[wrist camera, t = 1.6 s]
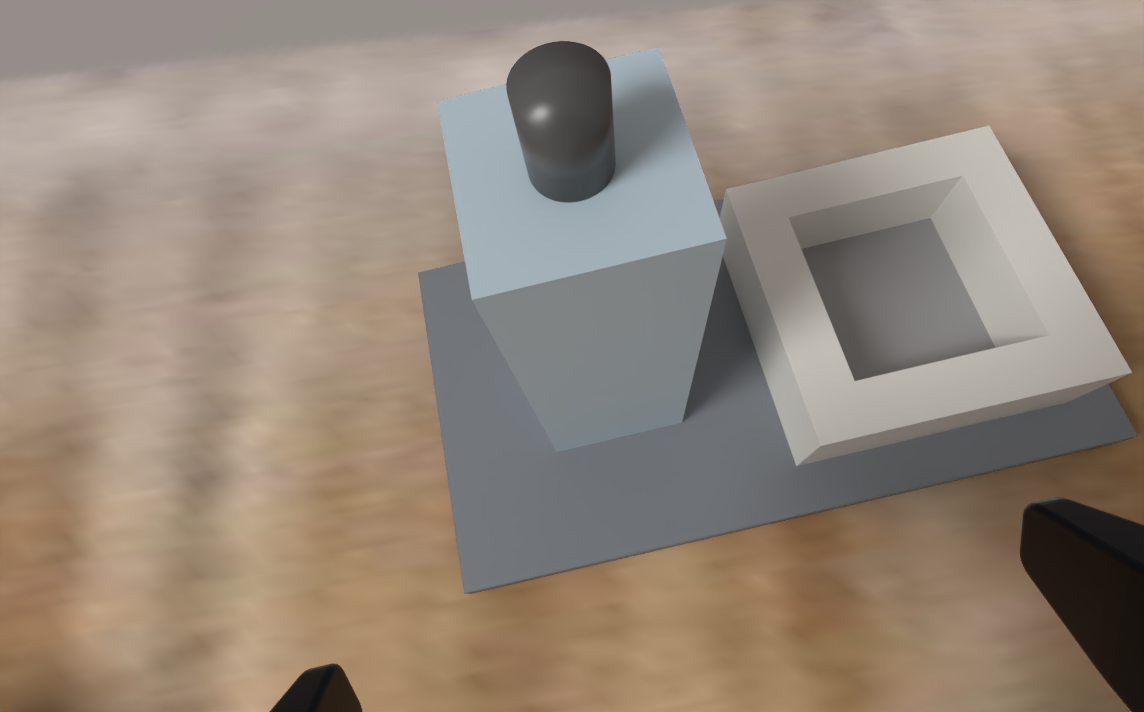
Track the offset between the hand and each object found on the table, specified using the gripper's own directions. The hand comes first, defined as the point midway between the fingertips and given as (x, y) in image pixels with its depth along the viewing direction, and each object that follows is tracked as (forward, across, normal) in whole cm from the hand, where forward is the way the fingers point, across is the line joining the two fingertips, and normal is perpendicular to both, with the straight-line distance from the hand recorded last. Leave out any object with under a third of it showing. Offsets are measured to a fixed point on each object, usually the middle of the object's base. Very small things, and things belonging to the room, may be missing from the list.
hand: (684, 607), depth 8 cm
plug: (+14, 0, +4) cm, 15 cm away
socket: (+14, -10, +3) cm, 18 cm away
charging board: (+15, -5, +4) cm, 16 cm away
